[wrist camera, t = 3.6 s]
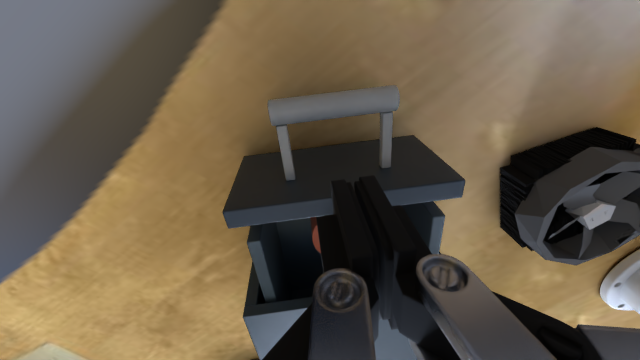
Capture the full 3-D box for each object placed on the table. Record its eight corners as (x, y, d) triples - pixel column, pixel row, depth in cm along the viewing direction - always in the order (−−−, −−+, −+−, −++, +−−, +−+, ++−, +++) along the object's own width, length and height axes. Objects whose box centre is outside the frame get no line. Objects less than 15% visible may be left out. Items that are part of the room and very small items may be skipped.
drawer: (226, 90, 18) (190, 123, 12) (419, 67, 19) (485, 87, 12) (278, 288, 28) (274, 363, 22) (402, 271, 29) (434, 339, 22)
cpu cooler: (535, 280, 24) (543, 189, 19) (492, 236, 29) (491, 155, 24) (658, 243, 23) (701, 138, 18) (592, 205, 28) (612, 114, 23)
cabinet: (258, 227, 25) (242, 317, 17) (410, 206, 26) (462, 285, 18) (286, 329, 33) (284, 422, 25) (401, 313, 34) (434, 399, 26)
